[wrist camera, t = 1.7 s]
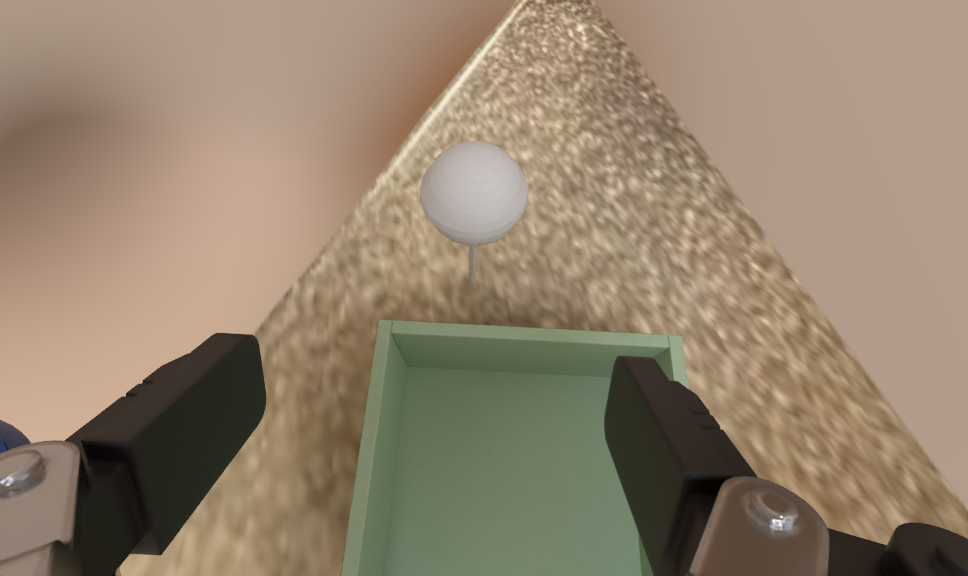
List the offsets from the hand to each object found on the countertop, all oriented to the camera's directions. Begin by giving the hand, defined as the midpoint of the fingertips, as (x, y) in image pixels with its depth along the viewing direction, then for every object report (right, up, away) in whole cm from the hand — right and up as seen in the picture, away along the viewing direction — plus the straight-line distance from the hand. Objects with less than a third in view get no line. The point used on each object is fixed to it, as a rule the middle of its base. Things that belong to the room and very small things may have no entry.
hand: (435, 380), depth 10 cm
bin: (+3, -13, +20) cm, 24 cm away
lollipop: (0, +3, +27) cm, 27 cm away
